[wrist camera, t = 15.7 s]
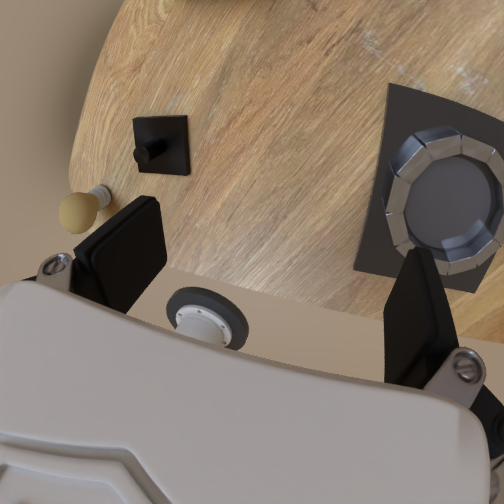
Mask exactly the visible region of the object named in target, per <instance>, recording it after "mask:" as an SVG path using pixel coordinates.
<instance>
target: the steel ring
mask: <svg viewBox="0 0 504 504" xmlns="http://www.w3.org/2000/svg"><path fill="white" fill-rule="evenodd" d="M419 139H420V142H421V143H420V142H419V141H418V140H416V141H415V142H414V143H413V144H412V146H411V147H410V148H409V149H408V150H407V151H406V152H405V153H404V154H403V155H402V156H401V158H400V159H399V160H398V161H397V162H396V163H395V164H394V165H393V167H394V169H391V172H390V177H389V181H388V185H387V189H386V193H385V197H384V201H383V202H384V205H383V206H384V210H385V214H386V218H387V222H388V225H389V229H390V233H391V237H392V240H393V244H394V246H395V248H396V249H397V250H398V251H399V252H400V253H401V254H402V255H403V256H404V257H406V255H407V252H408V250H409V249H413V248H414V247H415V246H418V247H423V248H427V249H430V250H431V252H432V254H433V257H434V260H435V263H436V266H437V269H438V272H439V274H441V275H447V273H448V275H452V274H456V273H460V272H463V271H467V270H470V269H474V268H476V264H477V265H478V266H480V265H481V264H482V263H483V262H484V261H486V260H487V259H488V258H489V257H490V256H491V255H492V254H494V253H495V252H496V251H497V250H498V249H499V248H500V247H501V245H500V243H501V244H503V243H504V161H503V159H502V158H501V156H500V155H499V153H498V152H497V150H496V149H495V148H493V147H492V146H491V145H489V144H488V143H486V142H484V141H482V140H480V139H477V138H475V137H472V136H470V135H467V134H465V133H462V132H460V131H457V130H455V131H453V130H448V131H444V132H440V133H436V134H433V135H429V136H425V137H421V138H419ZM458 154H464V155H467V156H469V157H472V158H475V159H477V160H480V161H482V162H483V164H484V165H485V167H486V168H487V169H488V171H489V172H490V174H491V175H492V177H493V180H494V189H495V200H496V205H495V207H494V210H493V213H492V215H491V218H490V220H489V223H488V225H487V228H486V229H485V230H484V231H483V232H482V233H480V234H479V235H478V236H477V237H476V238H475V239H474V240H473V241H472V242H471V243H469V244H468V245H465V246H461V247H458V248H454V249H451V250H447V251H443V250H439V249H435V248H431V247H427V246H423V245H422V244H421V243H420V242H419V241H418V240H417V239H416V238H415V237H414V236H413V235H412V234H411V233H410V232H409V231H408V230H407V227H406V223H405V218H404V214H403V211H404V208H405V205H406V201H407V198H408V194H409V190H410V187H411V183H412V182H413V181H414V180H415V179H416V178H417V177H418V176H419V175H420V174H421V173H422V172H423V171H424V170H425V169H426V168H427V167H428V166H429V165H430V164H431V163H432V162H433V161H435V160H439V159H442V158H446V157H450V156H454V155H458Z"/></svg>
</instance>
